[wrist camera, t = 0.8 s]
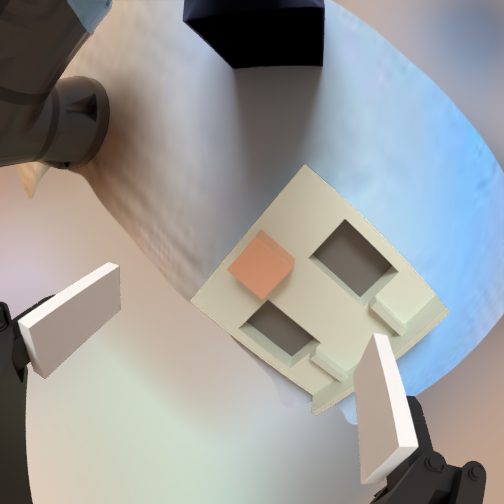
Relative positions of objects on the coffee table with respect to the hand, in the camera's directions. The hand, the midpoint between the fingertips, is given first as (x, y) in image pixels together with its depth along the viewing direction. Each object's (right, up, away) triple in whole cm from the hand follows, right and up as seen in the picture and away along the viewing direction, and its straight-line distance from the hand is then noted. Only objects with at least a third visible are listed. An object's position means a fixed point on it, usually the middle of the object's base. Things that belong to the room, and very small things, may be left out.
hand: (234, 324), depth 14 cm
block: (+2, +3, +20) cm, 20 cm away
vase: (+3, +30, +14) cm, 33 cm away
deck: (+9, -2, +23) cm, 24 cm away
